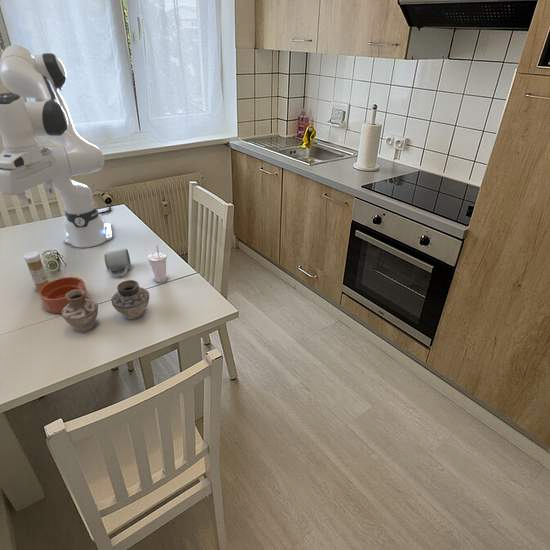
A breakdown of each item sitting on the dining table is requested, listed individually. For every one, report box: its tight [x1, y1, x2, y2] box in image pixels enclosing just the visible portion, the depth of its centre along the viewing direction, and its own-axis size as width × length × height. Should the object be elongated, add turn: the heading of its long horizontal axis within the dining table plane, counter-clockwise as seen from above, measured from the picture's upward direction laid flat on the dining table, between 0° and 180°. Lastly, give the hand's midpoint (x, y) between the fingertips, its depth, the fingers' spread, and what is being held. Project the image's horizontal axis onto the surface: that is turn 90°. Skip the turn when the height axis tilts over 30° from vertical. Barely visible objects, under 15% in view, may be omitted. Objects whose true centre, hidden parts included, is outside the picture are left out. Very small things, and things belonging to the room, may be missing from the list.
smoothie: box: [147, 244, 168, 283], centre depth 138 cm, size 6×6×14 cm
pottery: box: [61, 279, 150, 333], centre depth 119 cm, size 11×25×12 cm, turn 117°
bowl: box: [38, 276, 89, 314], centre depth 128 cm, size 13×13×6 cm
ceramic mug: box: [103, 247, 132, 279], centre depth 144 cm, size 11×8×8 cm
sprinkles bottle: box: [23, 251, 50, 292], centre depth 132 cm, size 5×5×13 cm
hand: (39, 198), depth 123 cm, fingers open, 8 cm apart
